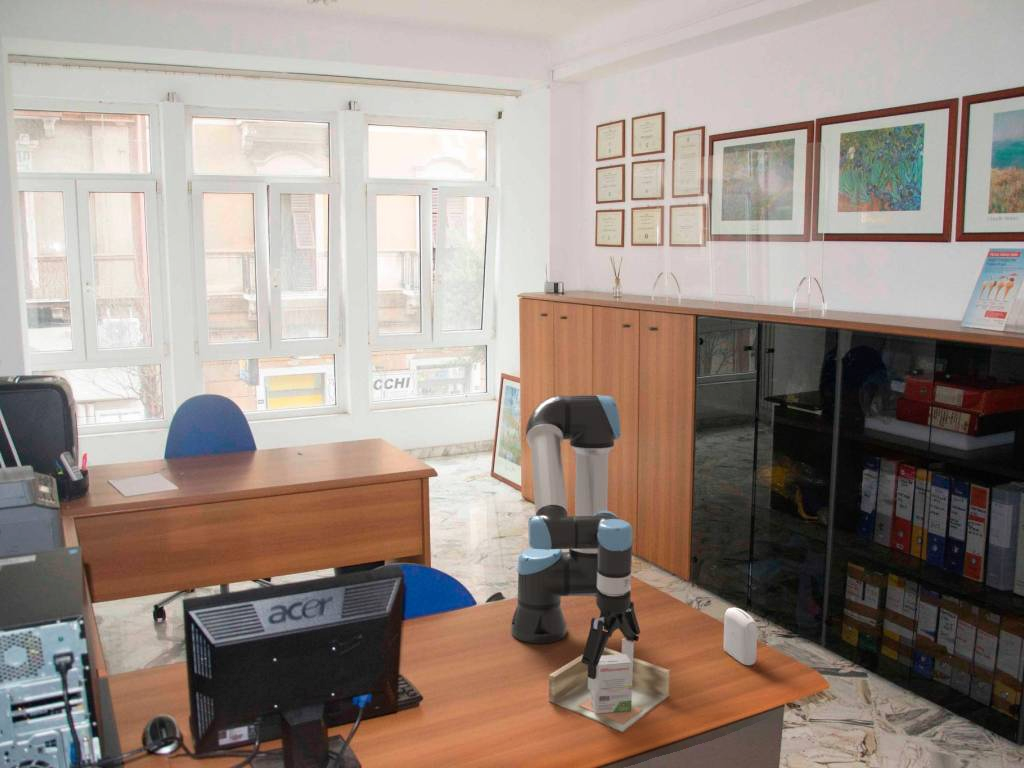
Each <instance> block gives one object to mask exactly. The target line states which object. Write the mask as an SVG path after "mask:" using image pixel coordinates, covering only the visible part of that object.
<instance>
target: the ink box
mask: <svg viewBox="0 0 1024 768" xmlns="http://www.w3.org/2000/svg"><path fill="white" fill-rule="evenodd" d="M599 664H601V669H600V692H598V693H597V692H595V691H592V690H591V698H590V704H591V706H592V708H593V710H594V712H595V713H596V714H599V713H611V712H624V711H631V705H632V674H633V663H632V661H631V660H630V658H629V657H628V655H627V654H619V655H604V656H601V658H600V660H599Z"/></svg>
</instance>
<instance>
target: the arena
mask: <svg viewBox="0 0 1024 768" xmlns="http://www.w3.org/2000/svg"><path fill="white" fill-rule="evenodd" d="M619 654H622V652H620V651H617V650H614V649H611V648H608V647H606V646H605V648H604V650H603V653H602V655H601V656H604V655H619ZM582 657H583V654H581V655H579V656H577V657H576V658H575V659H572V660H571V661H570V662H568V663H566V664H565V665H563V666H562V667H559V668H558V669H556V670H555V671H553V672H552V673H550V674H548V702H551V703H552V704H555V705H558V706H559V707H562V708H565V709H566V710H568V711H569V710H570V711H572V712H574V713H577V714H579V715H580V716H583V717H586V718H588V719H590V720H593V721H595V722H598V723H599V724H602V725H605V726H607V727H609V728H612V729H614V730H617V731H620V732H622V733H623V732H624V731H626V730H627V729H628V728H629V727H631V726H632V725H633V724H635V723H636V722H637V721H639V720H640V719H641V718H642V717H643V716H645V715H647V713H649V712H651V710H652V709H654V708H655V707H656V706H658V705H659V704H660V703H661V702H663V701H665V699H666V698H668V697H669V694H670V669H667V668H664V667H661V666H659V665H655V664H653V663H650V662H648V661H644V660H643V659H639V658H637V657H634V656H633V674H632V705H633V706H636V707H638V708H641V709H643V710H642V711H641V712H639V713H638V714H637V715H636V716H634V717H633V718H632V719H630V720H629V721H628V722H626V723H625V724H624V725H623V724H620V723H618V722H615V721H613V720H611V719H608V718H606V717H603V716H601V715H599V714H596V713H594V712H591V711H589V710H587V709H584V708H582V707H579V705H580V704H581V703H583V702H584V701H586V700H587V699H589V698H590V697H591V690H590V689H588V665H586V664H584V663H582Z"/></svg>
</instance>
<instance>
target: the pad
mask: <svg viewBox="0 0 1024 768" xmlns="http://www.w3.org/2000/svg"><path fill="white" fill-rule="evenodd" d="M590 698H591V697H590ZM590 698H589V699H587V700H586V701H584V702H583V703H581V704H580V705H579V707H582V708H584V709H587V710H589V711H591V712H594V710H593V708H592V706H591V704H590ZM642 710H643V709H641V708H638V707H636V706H633V705H631V711H624V712H611V713H599V715H601V716H603V717H606V718H608V719H611V720H613V721H615V722H618V723H620V724H623V725H624V724H625V723H626V722H628V721H629V720H630V719H632V718H633V717H634V716H636V715H637V714H638V713H639V712H641V711H642ZM594 713H595V712H594Z"/></svg>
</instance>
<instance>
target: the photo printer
mask: <svg viewBox="0 0 1024 768" xmlns="http://www.w3.org/2000/svg"><path fill="white" fill-rule="evenodd" d="M723 620H724V622H723V623H724V625H723V650H724V652H726V653H727V654H729V655H730V656H731V657H733V658H734V659H735V660H736V661H738V662H739V663H740V664H742V665H745V666H752V665H754V664H755V663H756V662H757V661H756V660H757V645H758V644H757V642H758V624H757V622H756V621H755V620H754V618H753V617H752V616H751V615H750V614H749V613H747V612H746V611H745V610H743V609H741V608H739V607H729V608H727V609H726V611H725V614H724V619H723Z"/></svg>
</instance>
